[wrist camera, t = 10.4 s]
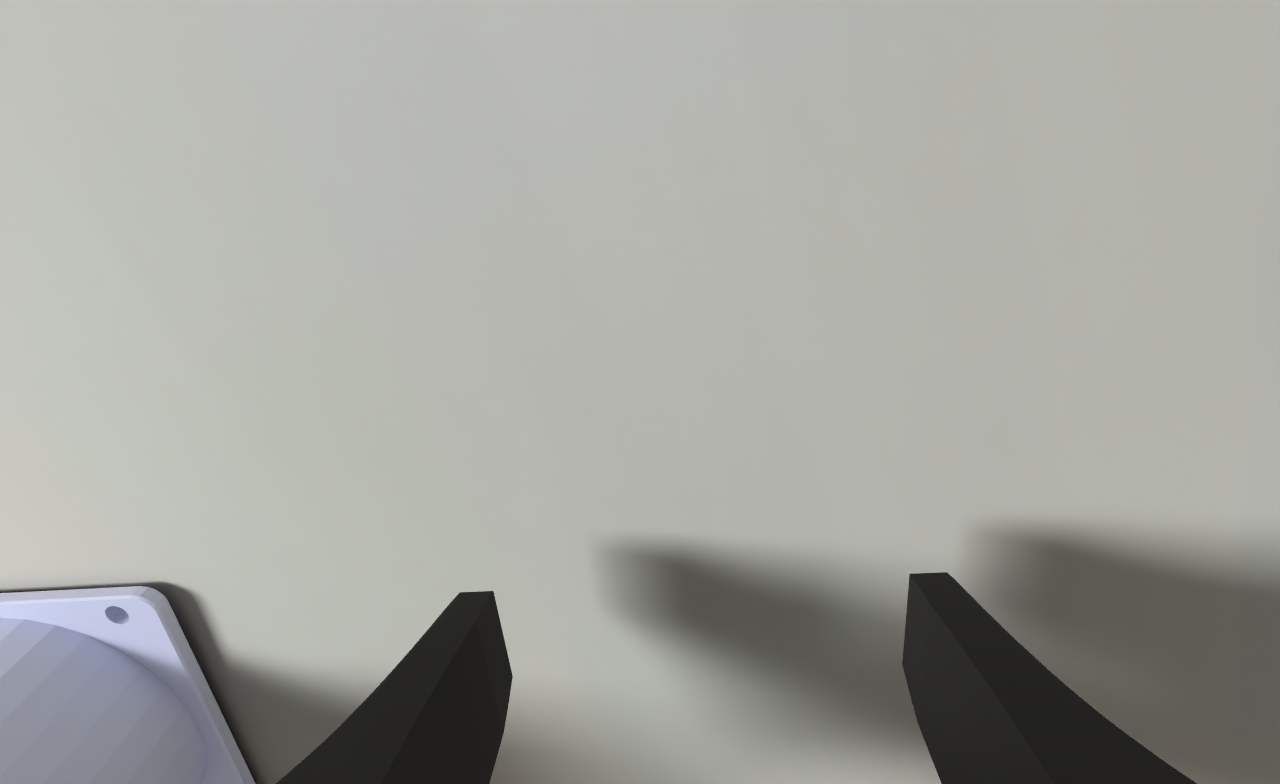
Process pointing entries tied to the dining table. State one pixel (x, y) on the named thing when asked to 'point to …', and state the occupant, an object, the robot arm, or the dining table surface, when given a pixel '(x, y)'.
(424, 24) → the dining table surface
